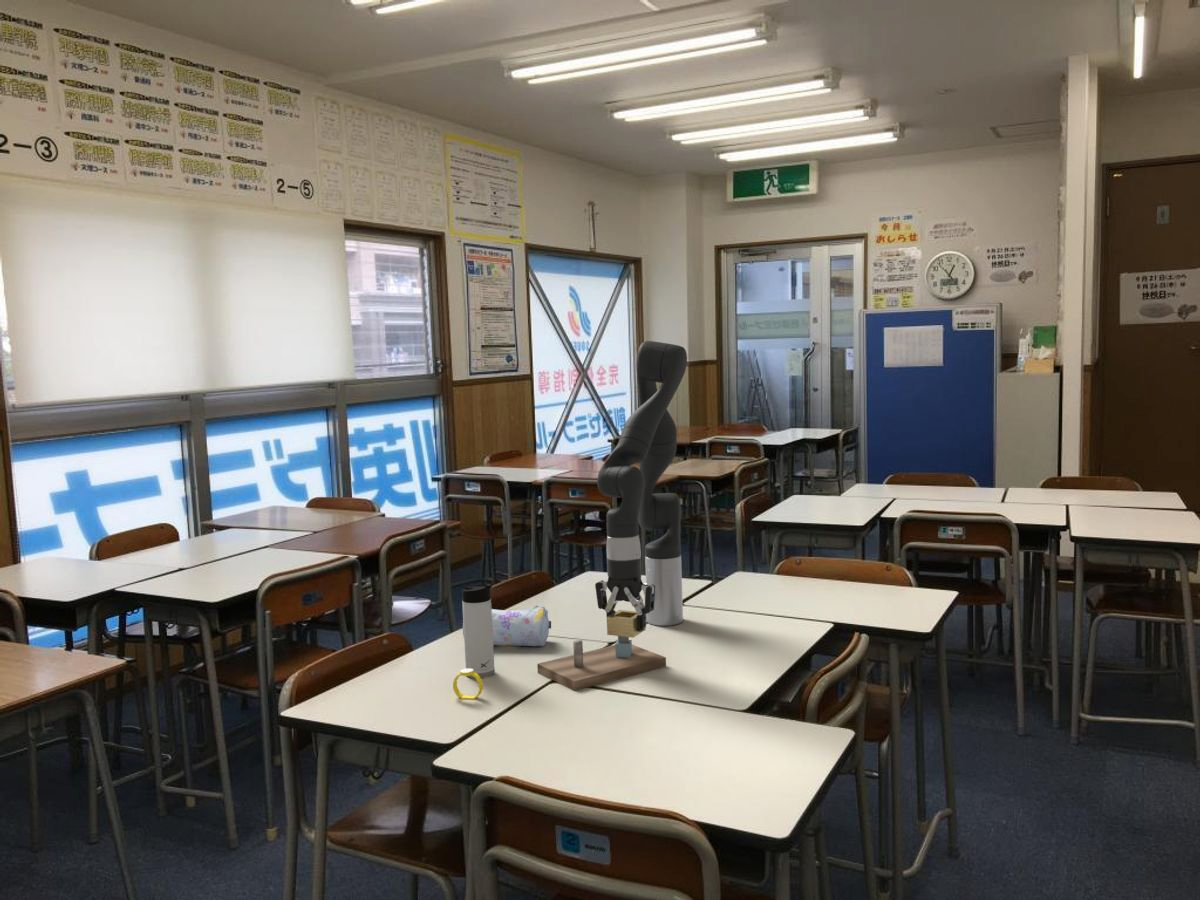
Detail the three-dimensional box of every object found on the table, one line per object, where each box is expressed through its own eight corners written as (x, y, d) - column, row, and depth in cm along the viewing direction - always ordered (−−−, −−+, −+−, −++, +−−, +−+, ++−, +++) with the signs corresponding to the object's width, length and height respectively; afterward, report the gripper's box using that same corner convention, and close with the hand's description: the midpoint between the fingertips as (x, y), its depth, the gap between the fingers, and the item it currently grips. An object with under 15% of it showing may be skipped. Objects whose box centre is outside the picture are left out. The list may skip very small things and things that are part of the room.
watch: (453, 701, 195) (449, 673, 194) (458, 696, 197) (454, 668, 197) (481, 700, 193) (477, 671, 193) (485, 695, 196) (482, 667, 196)
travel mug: (491, 679, 207) (486, 588, 205) (462, 678, 208) (457, 588, 206) (499, 669, 213) (495, 581, 211) (471, 668, 214) (467, 581, 212)
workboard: (537, 672, 210) (536, 639, 209) (626, 650, 223) (625, 619, 222) (574, 690, 197) (573, 655, 197) (666, 666, 211) (665, 632, 210)
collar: (607, 634, 211) (606, 617, 211) (620, 627, 217) (619, 609, 217) (633, 637, 208) (632, 619, 208) (645, 629, 214) (645, 612, 214)
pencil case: (552, 639, 235) (551, 601, 234) (546, 650, 226) (544, 611, 225) (469, 639, 237) (468, 602, 236) (460, 650, 229) (458, 611, 228)
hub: (615, 657, 212) (614, 632, 212) (618, 652, 215) (617, 628, 215) (629, 657, 211) (628, 633, 211) (632, 652, 215) (631, 628, 214)
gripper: (587, 556, 211) (590, 630, 213) (646, 560, 204) (649, 637, 206) (602, 550, 218) (605, 622, 219) (660, 553, 211) (663, 627, 213)
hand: (626, 629), depth 213 cm, fingers closed on collar, 6 cm apart
